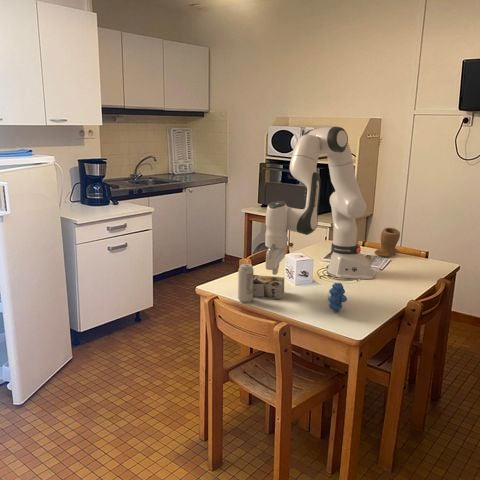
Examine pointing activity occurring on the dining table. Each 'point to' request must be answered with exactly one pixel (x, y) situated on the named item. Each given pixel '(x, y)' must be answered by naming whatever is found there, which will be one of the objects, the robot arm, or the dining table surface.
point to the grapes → (336, 296)
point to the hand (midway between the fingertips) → (275, 273)
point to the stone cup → (388, 242)
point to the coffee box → (268, 286)
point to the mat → (266, 297)
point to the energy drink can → (245, 283)
